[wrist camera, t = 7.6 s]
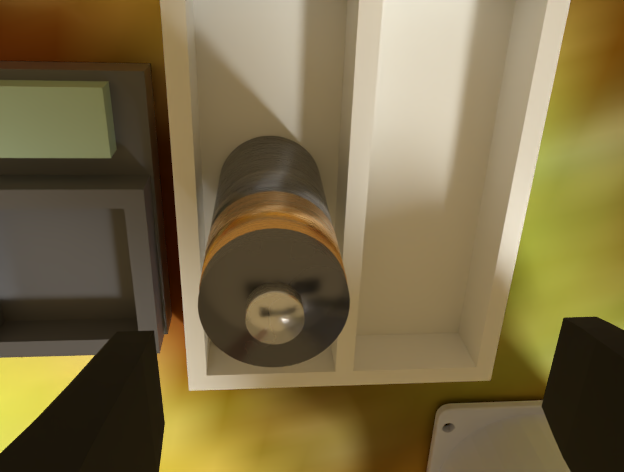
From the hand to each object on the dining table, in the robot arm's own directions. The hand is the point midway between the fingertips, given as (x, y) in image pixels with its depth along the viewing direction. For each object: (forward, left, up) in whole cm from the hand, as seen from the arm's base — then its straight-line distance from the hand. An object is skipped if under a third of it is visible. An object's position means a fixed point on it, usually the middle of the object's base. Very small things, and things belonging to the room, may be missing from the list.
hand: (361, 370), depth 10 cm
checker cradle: (-1, +8, -10) cm, 13 cm away
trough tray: (0, -1, -10) cm, 10 cm away
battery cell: (0, +1, -9) cm, 9 cm away
